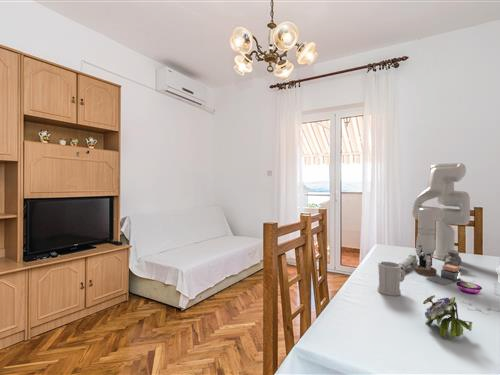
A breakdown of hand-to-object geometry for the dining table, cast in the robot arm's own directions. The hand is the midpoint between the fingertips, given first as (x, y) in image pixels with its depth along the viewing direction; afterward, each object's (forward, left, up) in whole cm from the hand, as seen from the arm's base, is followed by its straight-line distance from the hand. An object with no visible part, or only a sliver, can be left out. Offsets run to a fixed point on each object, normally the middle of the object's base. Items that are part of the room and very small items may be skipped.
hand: (425, 265), depth 144 cm
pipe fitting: (-20, +3, -4) cm, 20 cm away
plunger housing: (-2, +11, -4) cm, 12 cm away
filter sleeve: (0, 0, -4) cm, 4 cm away
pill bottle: (0, 0, -3) cm, 3 cm away
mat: (+6, +10, -4) cm, 12 cm away
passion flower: (+53, +35, -4) cm, 64 cm away
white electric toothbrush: (+1, -9, -4) cm, 10 cm away
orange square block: (-2, +11, -3) cm, 11 cm away
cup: (+40, +7, -4) cm, 41 cm away
